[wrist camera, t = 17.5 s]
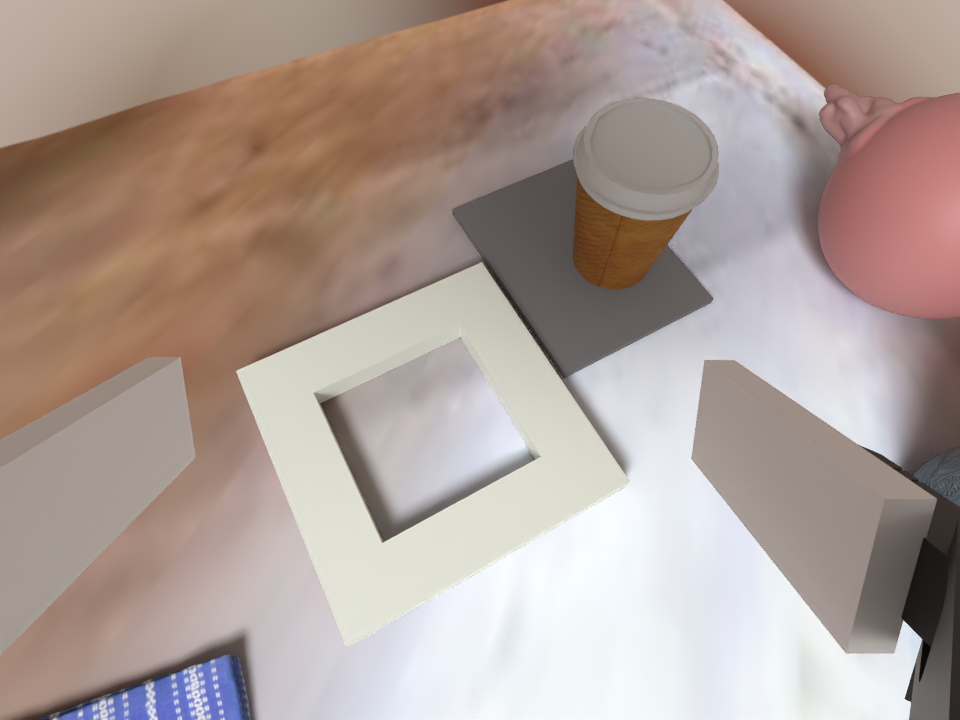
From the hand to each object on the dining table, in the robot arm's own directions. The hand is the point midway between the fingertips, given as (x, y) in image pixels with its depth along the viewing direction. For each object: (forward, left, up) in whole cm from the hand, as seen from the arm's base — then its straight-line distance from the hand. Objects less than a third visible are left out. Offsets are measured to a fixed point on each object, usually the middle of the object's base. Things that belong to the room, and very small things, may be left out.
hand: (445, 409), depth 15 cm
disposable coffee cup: (-15, +22, -25) cm, 36 cm away
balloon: (-6, +41, -26) cm, 49 cm away
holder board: (-9, +2, -26) cm, 27 cm away
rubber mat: (-17, +20, -26) cm, 36 cm away
